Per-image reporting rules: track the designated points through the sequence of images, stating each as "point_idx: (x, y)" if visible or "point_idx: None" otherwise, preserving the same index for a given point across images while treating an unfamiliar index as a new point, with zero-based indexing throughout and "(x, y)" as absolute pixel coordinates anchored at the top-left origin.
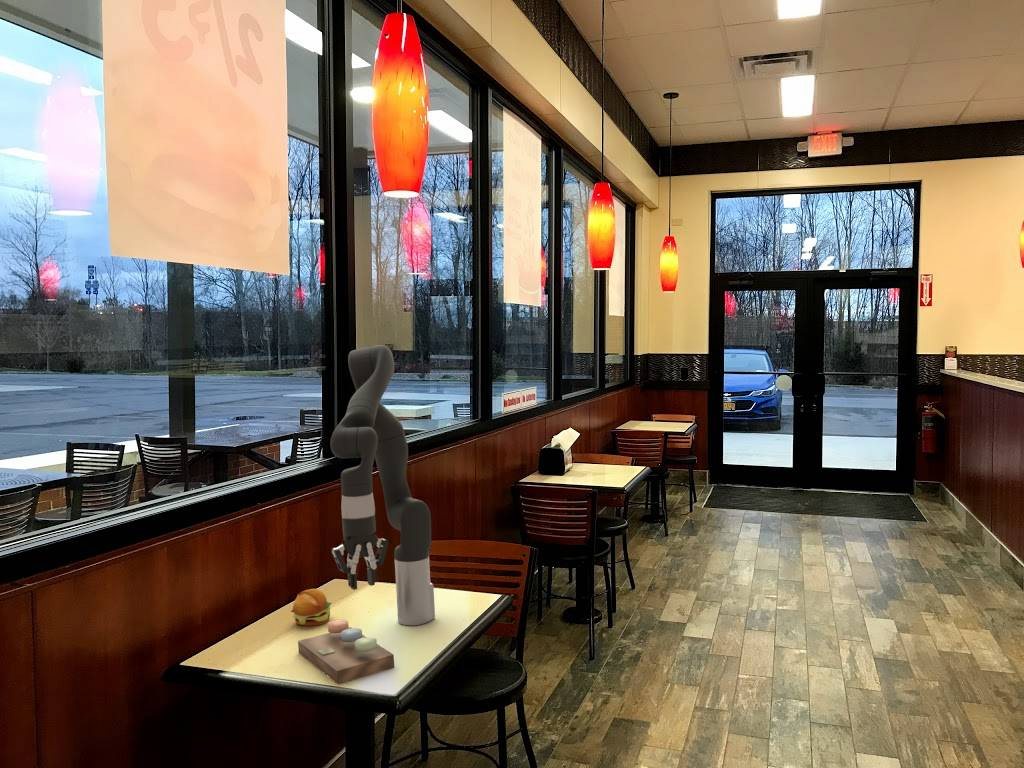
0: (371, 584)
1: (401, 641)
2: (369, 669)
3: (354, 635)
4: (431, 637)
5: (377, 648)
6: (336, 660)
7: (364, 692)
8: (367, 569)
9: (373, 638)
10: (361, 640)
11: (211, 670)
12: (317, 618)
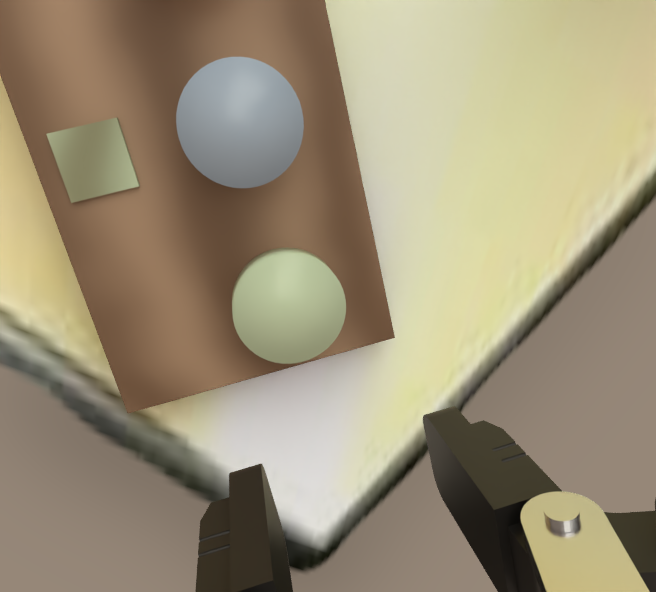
0: (440, 489)
1: (491, 35)
2: None
3: (249, 186)
4: (620, 60)
5: (347, 233)
6: (137, 294)
7: (226, 491)
8: (490, 516)
9: (335, 291)
10: (271, 290)
11: None
12: None
